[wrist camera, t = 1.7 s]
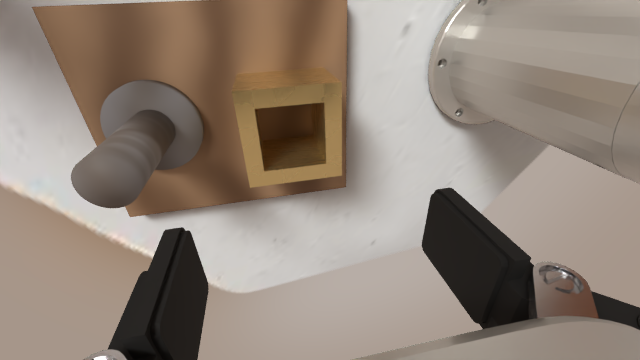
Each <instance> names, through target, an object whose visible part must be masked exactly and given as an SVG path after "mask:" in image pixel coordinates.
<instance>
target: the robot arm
mask: <svg viewBox="0 0 640 360" xmlns="http://www.w3.org/2000/svg"><path fill="white" fill-rule="evenodd" d="M438 62H439V64H438ZM428 80H429V86H430V92H431V94H432V97H433V99H434V102H435V103H436V104H437V106H438V107H439V109H440V110H441V111H442V112H443V113H445V114H446V115H447V116H449V117H450V118H452V119H454V120H456V121H459V122H462V123H465V124H474V125H475V124H484V123H488V122H491V121H494V120H497V121H499V122H501V123H503V124H505V125H508V126H510V127H512V128H514V129H517V130H519V131H521V132H523V133H526V134H528V135H530V136H532V137H535V138H537V139H539V140H541V141H544V142H546V143H548V144H550V145H553V146H555V147H557V148H559V149H561V150H564V151H566V152H568V153H571V154H573V155H575V156H577V157H579V158H582V159H584V160H586V161H588V162H591V163H593V164H595V165H597V166H599V167H602V168H604V169H607V170H608V171H611V172H613V173H615V174H617V175H620V176H622V177H624V178H627V179H630V180H632V181H634V182H636V183H639V184H640V0H462V1H461V2H460V4H459V5H458V6H457V7H456V8H455V9H454V10H453V11H452V12H451V14H450V15H449V17H448V18H447V19H446V21H445V22H444V24H443V26H442V28H441V30H440V31H439V33H438V35H437V37H436V40H435V43H434V46H433V49H432V51H431V56H430V62H429V73H428ZM422 248H423V251H424V253H425V254H426V255H427V257H428V258H429V260H430V261H431V262H432V264H433V265H434V267H435V268H436V269H437V271H438V272H439V274H440V275H441V276H442V278H443V279H444V280H445V282H446V283H447V285H448V286H449V287H450V289H451V290H452V292H453V293H454V294H455V296H456V297H457V299H458V300H459V302H460V303H461V304H462V306H463V307H464V309H465V310H466V311H467V313H468V314H469V315H470V317H471V318H472V319H473V321H474V322H475V323H479V324H480V326H481V327H482V328H483V329H482V330H478V331H474V332H469V333H465V334H460V335H456V336H452V337H447V338H443V339H438V340H434V341H430V342H425V343H421V344H417V345H413V346H409V347H404V348H400V349H395V350H391V351H387V352H382V353H378V354H374V355H370V356H366V357H361V358H357V359H352V360H640V308H639V307H636V306H633V305H630V304H627V303H624V302H621V301H619V300H615V299H613V298H610V297H607V296H604V295H601V294H598V293H595V292H592V291H591V290H590V287H589V285H588V283H587V281H586V280H585V279H584V278H583V277H582V276H581V275H579V274H578V273H577V272H575V271H574V270H572V269H570V268H568V267H566V266H563V265H561V264H558V263H553V262H540V263H537V264H536V265H535V266H534V265H533V264H532V263H531V262H530V260H531V257H530V256H529V255H527V254H526V253H525V252H524V251H523V250H522V249H521V248H520V247H518V246H517V245H516V244H515V243H514V242H512V241H511V240H510V239H509V238H508V237H507V236H506V235H505V234H504V233H502V232H501V231H500V230H499V229H498V228H497V227H496V226H494V225H493V224H492V223H491V222H490V221H489V220H488V219H487V218H485V217H484V216H483V215H482V214H481V213H480V212H479V211H477V210H476V209H475V208H474V207H473V206H472V205H471V204H470V203H468V202H467V201H466V200H465V199H464V198H463V197H462V196H460V195H459V194H458V193H457V192H456V191H455V190H454V189H452V188H444V189H438V190H436V191H435V192H434V194H432V195H431V198H430V203H429V209H428V214H427V219H426V225H425V230H424V235H423V240H422ZM207 295H208V282H207V278H206V275H205V273H204V270H203V267H202V264H201V261H200V258H199V255H198V252H197V249H196V246H195V243H194V240H193V238H192V235H191V232H190V231H185V229H184V228H182V227H181V228H175V229H168V230H165V231H164V233H163V235H162V237H161V240H160V242H159V245H158V247H157V250H156V252H155V255H154V257H153V260H152V262H151V265H150V267H149V269H148V271H144V272H142V273H141V274H140V276H139V278H138V280H137V283H136V285H135V287H134V290H133V292H132V294H131V296H130V299H129V301H128V303H127V306H126V308H125V310H124V313H123V315H122V317H121V320H120V322H119V324H118V327H117V329H116V331H115V334H114V336H113V338H112V341H111V343H110V345H109V348H108V350H102V351H100V352H97V353H94V354H92V355H90V356H89V357H87V358H85V359H84V360H197V358H198V352H199V345H200V340H201V333H202V327H203V320H204V315H205V308H206V302H207Z"/></svg>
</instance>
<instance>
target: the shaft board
mask: <svg viewBox="0 0 640 360" xmlns="http://www.w3.org/2000/svg"><path fill="white" fill-rule="evenodd" d="M32 8H33V11H34V13H35V15H36V17H37V19H38V21H39V23H40V26H41V28H42V30H43V32H44V34H45V36H46V38H47V40H48V43H49V45H50V47H51V49H52V51H53V53H54V55H55V58H56V60H57V62H58V64H59V66H60V68H61V70H62V73H63V75H64V77H65V79H66V81H67V83H68V85H69V87H70V90H71V92H72V94H73V96H74V98H75V100H76V102H77V105H78V107H79V109H80V111H81V113H82V115H83V117H84V120H85V122H86V124H87V126H88V128H89V130H90V132H91V135H92V137H93V139H94V141H95V143H96V145H97V147H96V148H95V149H94V150H93V151H92V152H90V153H89V154H88V155H87V156H86V157H85V158H83V159H82V160H81V161H80V162H79V163H78V164H76V165H75V167H74V168H73V170H72V173H71V181H72V184H73V187H74V188H75V190H76V191H77V193H78V194H79V195H80V196H81V197H83V198H84V199H85V200H87V201H88V202H90V203H92V204H95V205H97V206H101V207H105V208H120V207H124V206H125V207H126V209H127V211H128V214H129V216H130V217H134V216H141V215H149V214H156V213H163V212H170V211H177V210H185V209H192V208H199V207H206V206H214V205H221V204H228V203H235V202H242V201H250V200H257V199H264V198H271V197H278V196H286V195H293V194H300V193H307V192H315V191H322V190H329V189H336V188H343V187H346V87H347V0H201V1H175V2H149V3H123V4H97V5H71V6H45V7H32ZM322 67H323V68H325V69H326V70H327V71H328V72H330V73H331V74H332V75H333V76H335V77H336V78H337V79H338V80H340V81H341V82H342V176H335V177H328V178H320V179H313V180H305V181H297V182H290V183H282V184H275V185H267V186H260V187H252V188H250V185H249V180H248V174H247V169H246V164H245V159H244V154H243V148H242V143H241V138H240V133H239V127H238V122H237V117H236V112H235V106H234V101H233V96H232V89H233V85H234V82H235V78H236V75H237V74H242V73H256V72H269V71H282V70H296V69H309V68H322ZM258 115H259V122H260V128H261V135H262V140H270V139H279V138H288V137H298V136H307V135H313V132H312V114H311V104H301V105H290V106H280V107H269V108H258Z"/></svg>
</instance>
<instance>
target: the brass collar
mask: <svg viewBox="0 0 640 360" xmlns="http://www.w3.org/2000/svg"><path fill="white" fill-rule="evenodd" d="M232 96H233V101H234V106H235V112H236V117H237V122H238V127H239V133H240V138H241V143H242V148H243V154H244V159H245V164H246V169H247V174H248V180H249V185H250V188H252V187H260V186H267V185H275V184H282V183H290V182H297V181H305V180H313V179H320V178H328V177H335V176H342V82H341V81H340V80H338V79H337V78H336V77H335V76H333V75H332V74H331V73H330V72H328V71H327V70H326V69H325V68H323V67H322V68H309V69H296V70H282V71H269V72H256V73H242V74H237V75H236V78H235V82H234V85H233V89H232ZM301 104H311V114H312V132H313V135H307V136H298V137H288V138H279V139H270V140H262V135H261V128H260V122H259V115H258V108H269V107H280V106H290V105H301Z"/></svg>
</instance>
